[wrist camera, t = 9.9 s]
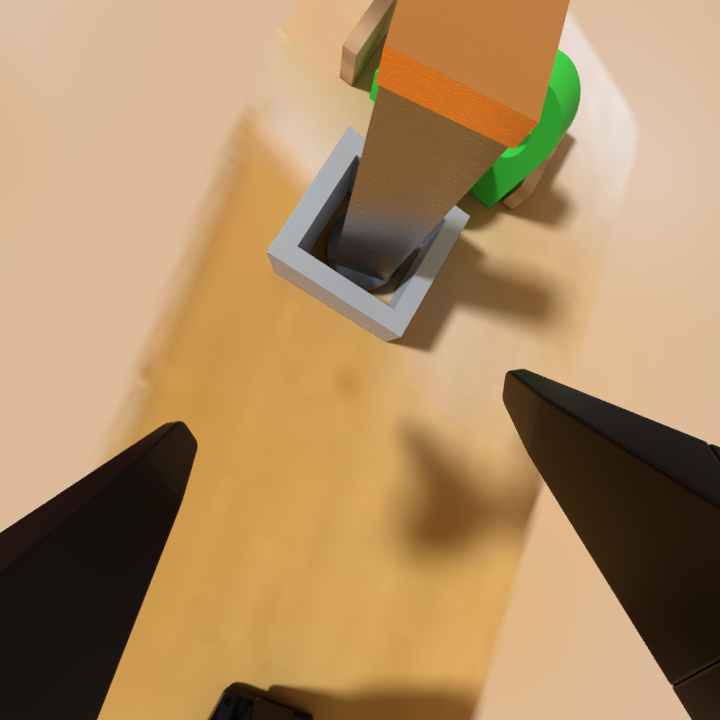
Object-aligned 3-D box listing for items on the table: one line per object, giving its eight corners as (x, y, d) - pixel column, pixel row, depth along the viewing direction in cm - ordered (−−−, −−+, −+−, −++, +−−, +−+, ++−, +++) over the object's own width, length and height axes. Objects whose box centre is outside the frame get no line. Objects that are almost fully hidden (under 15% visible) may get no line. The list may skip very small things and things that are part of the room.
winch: (385, 341, 20) (403, 336, 16) (274, 272, 19) (265, 247, 15) (474, 188, 22) (511, 148, 18) (377, 113, 20) (393, 53, 16)
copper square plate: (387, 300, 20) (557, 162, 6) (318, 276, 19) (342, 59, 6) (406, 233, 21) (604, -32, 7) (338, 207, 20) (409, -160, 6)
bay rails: (511, 209, 22) (531, 194, 20) (339, 76, 20) (342, 44, 18) (555, 131, 23) (577, 110, 21) (394, -5, 21) (403, -44, 19)
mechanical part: (526, 156, 23) (642, 46, 15) (487, 210, 22) (586, 124, 14) (415, 45, 21) (478, -145, 13) (368, 99, 20) (405, -67, 13)
